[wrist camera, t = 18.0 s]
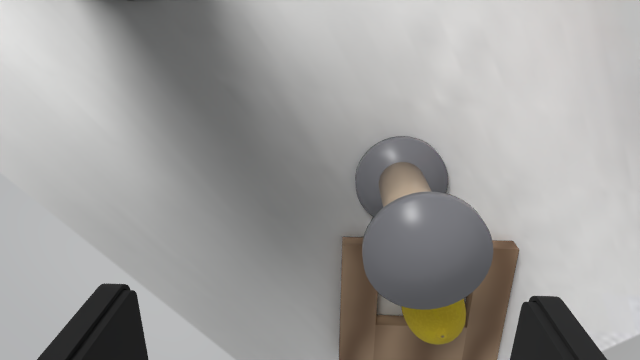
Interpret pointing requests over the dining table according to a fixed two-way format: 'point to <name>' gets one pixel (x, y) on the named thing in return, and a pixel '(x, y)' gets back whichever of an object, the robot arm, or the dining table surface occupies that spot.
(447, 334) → the lemon
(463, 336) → the notched board
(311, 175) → the dining table surface
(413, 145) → the spool
